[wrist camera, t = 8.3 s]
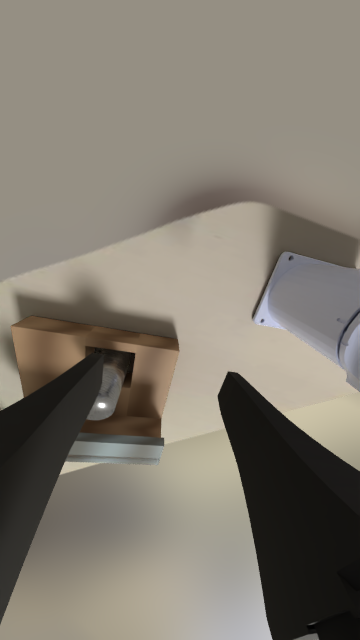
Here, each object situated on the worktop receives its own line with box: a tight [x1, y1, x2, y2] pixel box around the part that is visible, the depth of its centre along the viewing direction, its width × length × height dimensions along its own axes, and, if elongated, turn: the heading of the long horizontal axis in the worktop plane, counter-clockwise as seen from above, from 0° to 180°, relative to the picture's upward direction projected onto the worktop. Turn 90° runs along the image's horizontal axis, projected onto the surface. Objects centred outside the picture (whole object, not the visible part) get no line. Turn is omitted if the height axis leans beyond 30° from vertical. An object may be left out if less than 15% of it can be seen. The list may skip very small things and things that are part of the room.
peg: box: [87, 348, 131, 420], centre depth 17 cm, size 4×4×7 cm
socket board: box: [11, 316, 179, 465], centre depth 18 cm, size 16×12×7 cm
